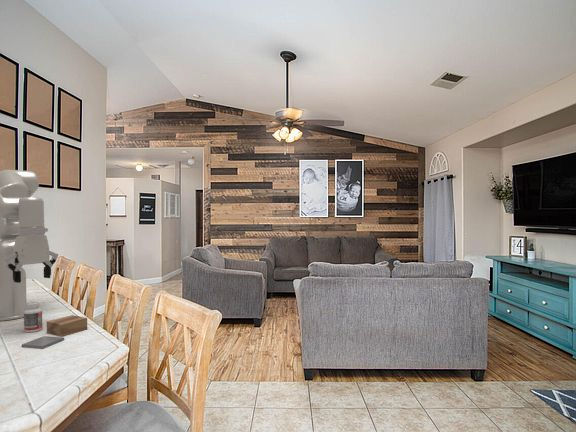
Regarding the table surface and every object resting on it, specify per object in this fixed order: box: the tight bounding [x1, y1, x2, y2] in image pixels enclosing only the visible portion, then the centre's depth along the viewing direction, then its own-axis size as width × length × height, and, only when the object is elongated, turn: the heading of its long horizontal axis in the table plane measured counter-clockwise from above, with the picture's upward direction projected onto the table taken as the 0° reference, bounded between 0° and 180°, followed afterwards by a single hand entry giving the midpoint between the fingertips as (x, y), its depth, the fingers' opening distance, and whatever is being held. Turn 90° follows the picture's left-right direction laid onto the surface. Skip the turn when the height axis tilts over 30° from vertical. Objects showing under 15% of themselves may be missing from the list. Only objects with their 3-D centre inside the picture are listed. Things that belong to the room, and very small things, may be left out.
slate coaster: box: [21, 335, 65, 350], centre depth 117 cm, size 8×8×1 cm
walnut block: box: [46, 314, 88, 337], centre depth 130 cm, size 9×9×4 cm
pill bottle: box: [23, 301, 43, 333], centre depth 131 cm, size 5×5×10 cm
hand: (32, 280), depth 131 cm, fingers open, 9 cm apart
